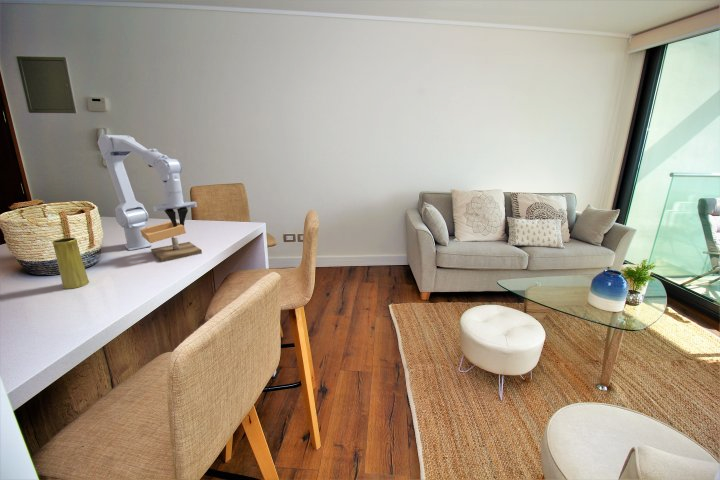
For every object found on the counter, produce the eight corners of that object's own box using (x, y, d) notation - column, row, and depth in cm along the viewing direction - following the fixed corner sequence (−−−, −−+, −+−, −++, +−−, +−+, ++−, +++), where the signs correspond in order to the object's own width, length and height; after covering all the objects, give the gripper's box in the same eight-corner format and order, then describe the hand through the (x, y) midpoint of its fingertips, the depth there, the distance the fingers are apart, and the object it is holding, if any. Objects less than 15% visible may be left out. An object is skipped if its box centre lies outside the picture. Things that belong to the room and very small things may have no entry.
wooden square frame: (142, 236, 121) (139, 229, 120) (176, 227, 128) (174, 220, 127) (150, 243, 113) (147, 235, 112) (185, 233, 120) (183, 225, 119)
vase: (74, 290, 93) (61, 243, 89) (57, 287, 95) (44, 242, 90) (94, 281, 99) (83, 237, 95) (78, 279, 100) (67, 236, 96)
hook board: (151, 252, 125) (148, 238, 123) (189, 245, 135) (187, 231, 133) (161, 261, 116) (158, 246, 114) (201, 253, 125) (199, 238, 124)
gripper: (153, 195, 110) (160, 233, 114) (197, 191, 120) (202, 226, 124) (148, 193, 115) (155, 229, 119) (191, 189, 125) (196, 223, 129)
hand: (178, 227), depth 122 cm, fingers closed on wooden square frame, 2 cm apart
